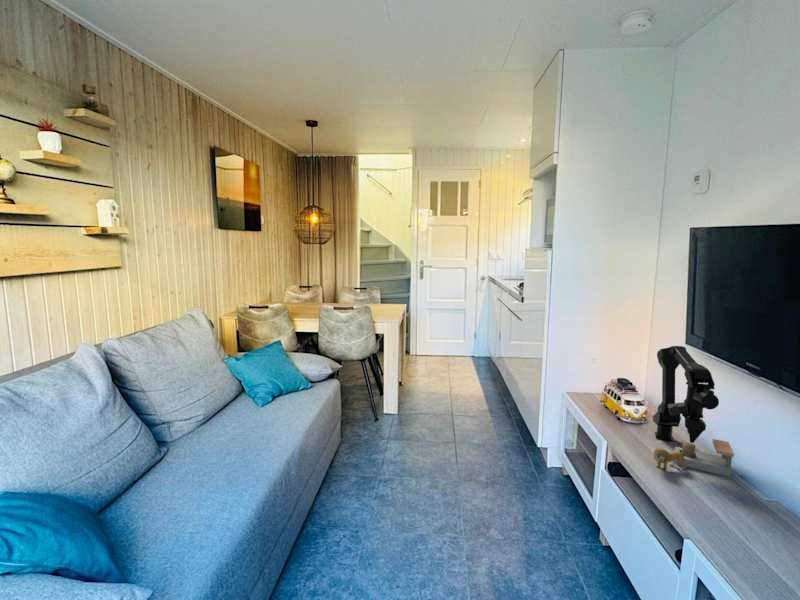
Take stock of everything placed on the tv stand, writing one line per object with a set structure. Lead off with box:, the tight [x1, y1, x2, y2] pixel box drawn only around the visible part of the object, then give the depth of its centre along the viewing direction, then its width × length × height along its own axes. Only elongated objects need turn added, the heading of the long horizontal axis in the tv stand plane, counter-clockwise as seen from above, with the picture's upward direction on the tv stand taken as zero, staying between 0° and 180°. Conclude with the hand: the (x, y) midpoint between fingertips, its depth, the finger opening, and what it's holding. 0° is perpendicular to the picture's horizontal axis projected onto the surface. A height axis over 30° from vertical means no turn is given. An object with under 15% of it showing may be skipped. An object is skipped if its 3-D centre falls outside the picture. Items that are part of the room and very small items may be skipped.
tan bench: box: [712, 438, 735, 469], centre depth 163 cm, size 11×5×9 cm, turn 151°
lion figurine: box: [653, 447, 687, 472], centre depth 162 cm, size 15×5×9 cm, turn 107°
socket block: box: [674, 446, 732, 478], centre depth 166 cm, size 10×17×3 cm, turn 61°
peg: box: [681, 441, 696, 458], centre depth 168 cm, size 4×4×7 cm
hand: (690, 437), depth 167 cm, fingers open, 9 cm apart
